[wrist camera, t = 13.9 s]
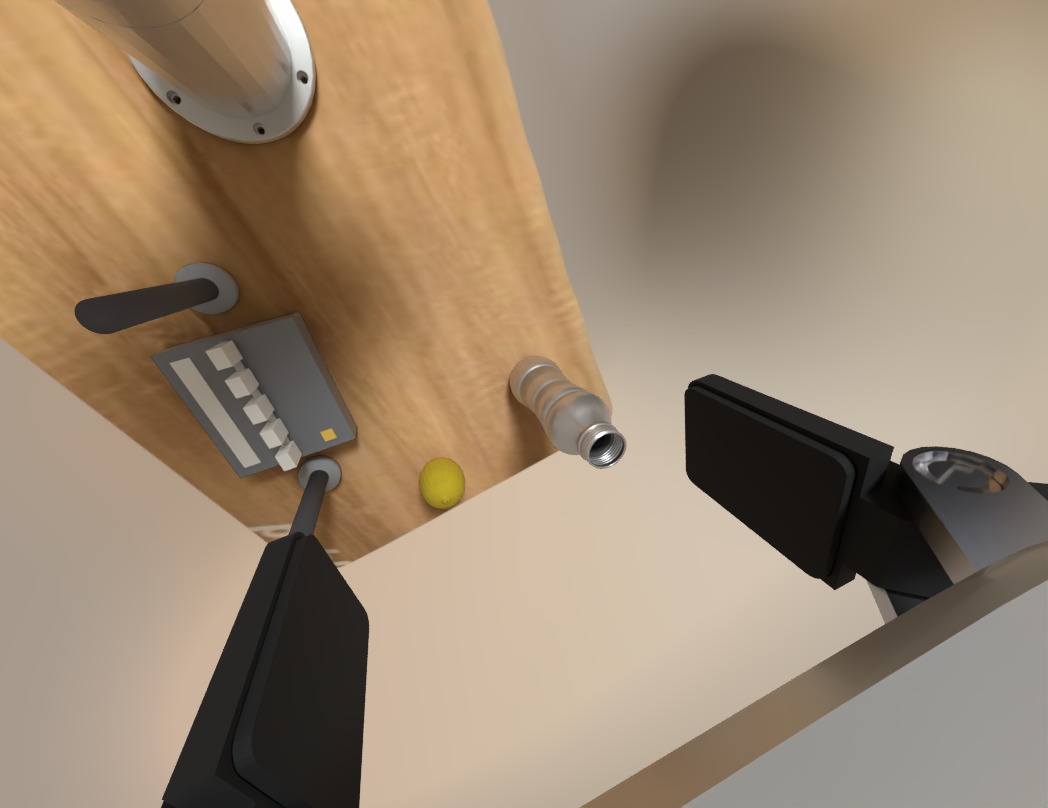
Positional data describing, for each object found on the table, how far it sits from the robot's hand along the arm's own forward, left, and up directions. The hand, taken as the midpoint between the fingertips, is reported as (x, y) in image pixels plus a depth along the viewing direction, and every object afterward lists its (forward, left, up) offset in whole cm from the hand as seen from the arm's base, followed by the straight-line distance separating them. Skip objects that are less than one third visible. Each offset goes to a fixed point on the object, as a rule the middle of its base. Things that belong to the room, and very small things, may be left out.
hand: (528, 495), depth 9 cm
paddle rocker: (+5, -18, -33) cm, 38 cm away
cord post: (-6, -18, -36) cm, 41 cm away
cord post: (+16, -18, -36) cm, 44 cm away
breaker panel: (+5, -18, -36) cm, 41 cm away
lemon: (+21, -5, -36) cm, 42 cm away
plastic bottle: (+13, +10, -36) cm, 40 cm away
